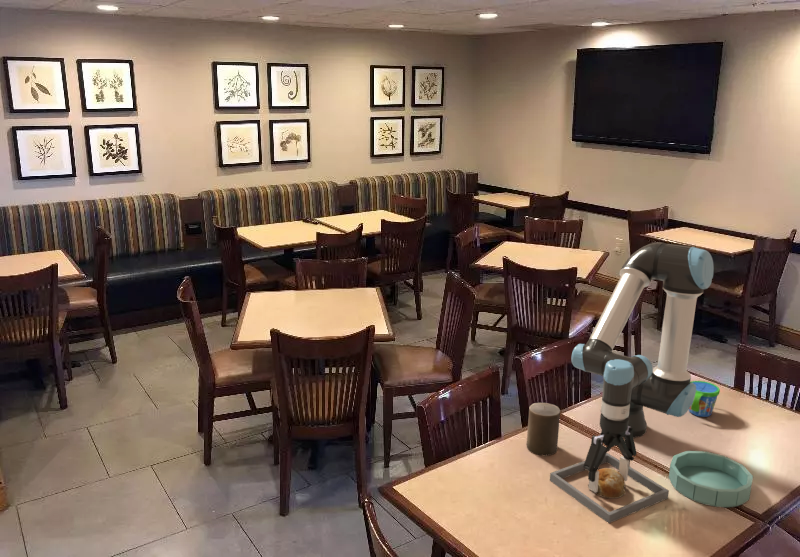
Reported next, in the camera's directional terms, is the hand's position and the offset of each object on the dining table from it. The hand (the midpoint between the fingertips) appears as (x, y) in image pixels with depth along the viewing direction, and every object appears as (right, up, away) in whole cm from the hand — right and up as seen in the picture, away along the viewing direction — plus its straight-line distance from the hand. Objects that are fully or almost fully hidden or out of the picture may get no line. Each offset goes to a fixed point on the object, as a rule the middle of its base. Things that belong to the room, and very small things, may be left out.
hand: (607, 484), depth 190 cm
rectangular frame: (0, -2, 0) cm, 2 cm away
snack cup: (+47, +11, +46) cm, 67 cm away
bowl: (+30, -1, +2) cm, 30 cm away
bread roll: (0, -2, +1) cm, 2 cm away
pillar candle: (-14, +5, +23) cm, 27 cm away
